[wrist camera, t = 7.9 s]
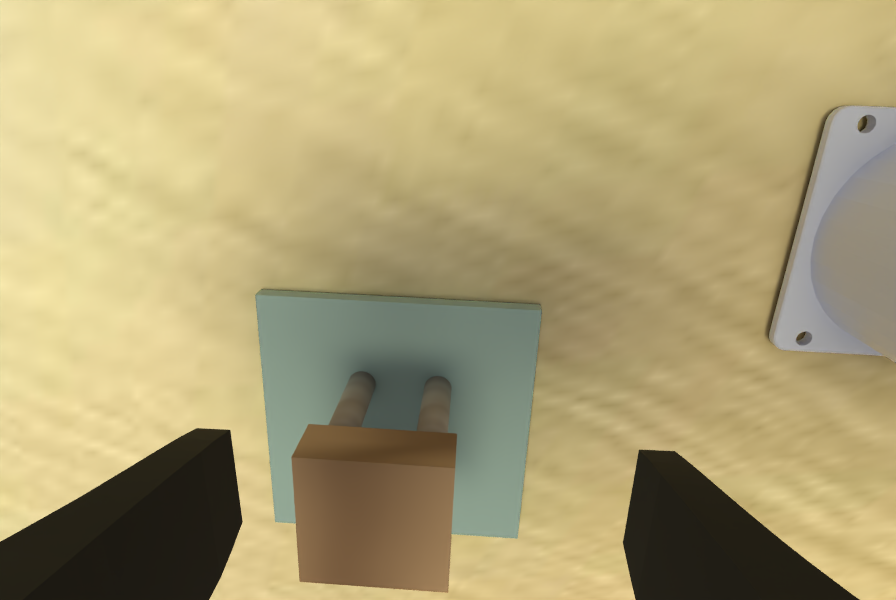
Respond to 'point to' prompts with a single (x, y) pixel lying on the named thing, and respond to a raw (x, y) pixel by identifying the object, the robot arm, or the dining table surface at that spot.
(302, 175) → the dining table surface
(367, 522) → the brown block with pegs
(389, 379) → the board
